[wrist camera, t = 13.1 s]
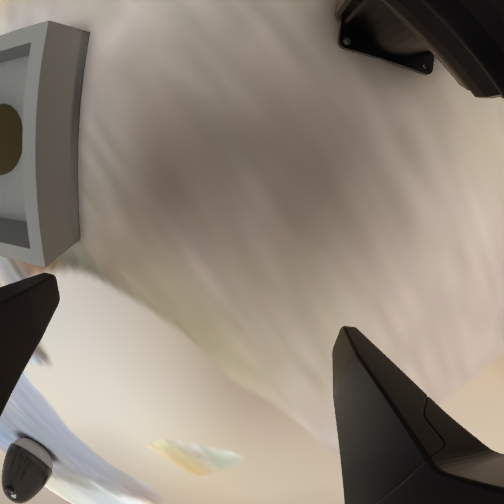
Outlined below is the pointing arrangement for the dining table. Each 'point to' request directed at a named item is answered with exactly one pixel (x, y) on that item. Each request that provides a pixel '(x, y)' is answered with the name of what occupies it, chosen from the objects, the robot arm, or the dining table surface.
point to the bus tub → (42, 140)
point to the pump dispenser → (25, 470)
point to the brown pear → (10, 138)
